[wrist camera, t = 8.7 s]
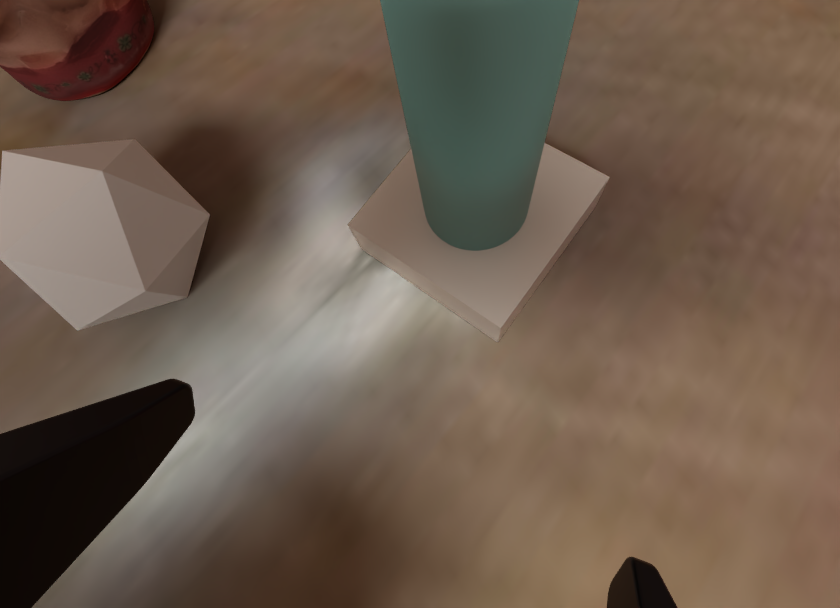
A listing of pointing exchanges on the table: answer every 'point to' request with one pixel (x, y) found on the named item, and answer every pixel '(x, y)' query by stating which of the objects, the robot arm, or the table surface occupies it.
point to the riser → (485, 269)
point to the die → (98, 229)
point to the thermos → (477, 106)
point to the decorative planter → (73, 44)
